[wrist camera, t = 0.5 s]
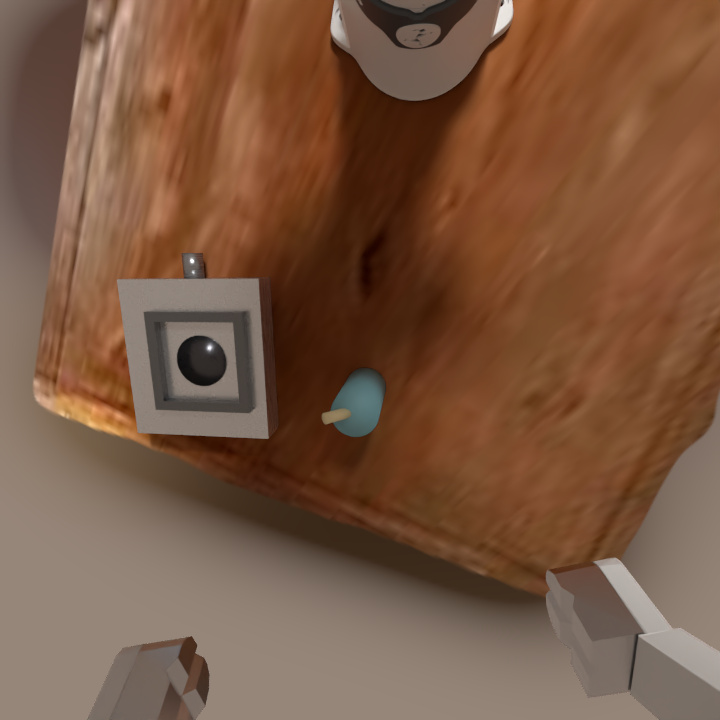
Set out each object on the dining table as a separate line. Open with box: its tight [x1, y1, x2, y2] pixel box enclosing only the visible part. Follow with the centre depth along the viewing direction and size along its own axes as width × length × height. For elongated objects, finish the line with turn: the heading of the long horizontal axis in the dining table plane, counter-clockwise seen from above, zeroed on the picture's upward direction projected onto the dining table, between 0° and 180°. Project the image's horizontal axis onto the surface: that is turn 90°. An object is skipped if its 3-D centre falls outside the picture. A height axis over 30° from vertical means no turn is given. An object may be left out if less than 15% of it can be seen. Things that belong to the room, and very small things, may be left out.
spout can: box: [322, 368, 386, 437], centre depth 49 cm, size 5×6×12 cm
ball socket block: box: [117, 253, 279, 439], centre depth 53 cm, size 23×18×5 cm
